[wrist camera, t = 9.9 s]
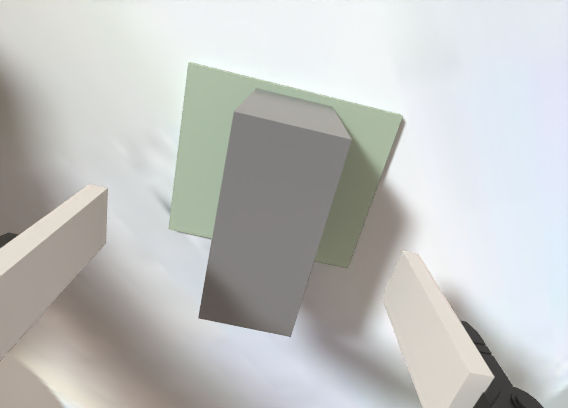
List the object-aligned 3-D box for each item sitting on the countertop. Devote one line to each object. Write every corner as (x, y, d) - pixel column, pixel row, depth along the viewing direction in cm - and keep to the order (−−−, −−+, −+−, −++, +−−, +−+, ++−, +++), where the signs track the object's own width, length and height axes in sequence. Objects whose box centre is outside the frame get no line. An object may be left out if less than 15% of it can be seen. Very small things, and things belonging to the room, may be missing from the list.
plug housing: (227, 236, 27) (198, 318, 19) (256, 88, 23) (233, 111, 15) (292, 250, 28) (290, 336, 19) (332, 106, 23) (351, 139, 15)
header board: (171, 225, 28) (142, 265, 23) (190, 62, 23) (160, 66, 18) (346, 264, 29) (357, 311, 24) (400, 114, 24) (428, 133, 19)
